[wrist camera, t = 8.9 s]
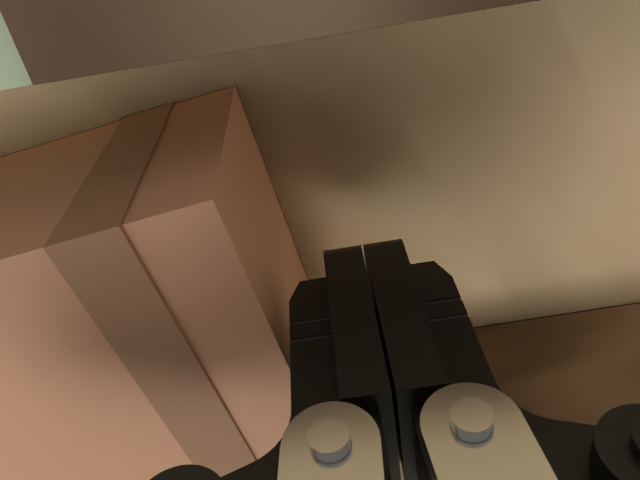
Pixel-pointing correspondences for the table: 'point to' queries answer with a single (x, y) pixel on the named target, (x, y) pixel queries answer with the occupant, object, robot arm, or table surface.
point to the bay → (299, 24)
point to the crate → (144, 298)
